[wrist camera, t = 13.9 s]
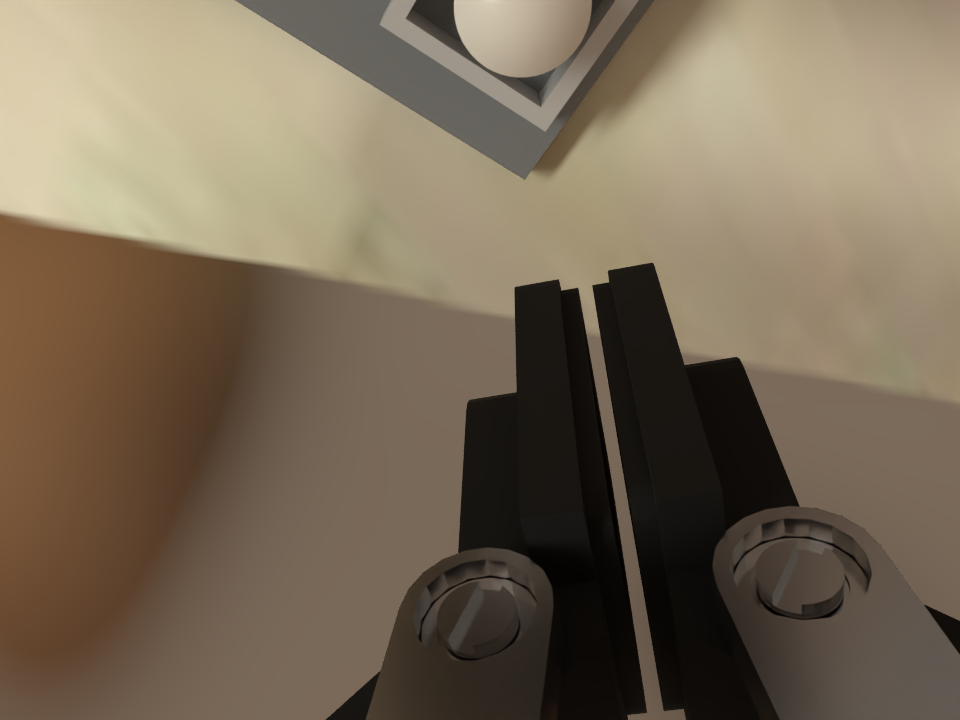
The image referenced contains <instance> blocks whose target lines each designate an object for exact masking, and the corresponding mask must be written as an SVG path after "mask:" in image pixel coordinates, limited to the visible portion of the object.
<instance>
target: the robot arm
mask: <svg viewBox="0 0 960 720" xmlns="http://www.w3.org/2000/svg"><path fill="white" fill-rule="evenodd" d="M608 276H609V283H603V284H597V285H592V286H593V293H594V299H595V305H596V311H597V317H598V323H599V329H600V335H601V341H602V347H603V353H604V358H605V365H606V371H607V378H608V384H609V390H610V396H611V401H612V408H613V414H614V420H615V426H616V432H617V438H618V444H619V450H620V456H621V462H622V468H623V474H624V480H625V486H626V492H627V498H628V503H629V510H630V515H631V521H632V526H633V533H634V539H635V545H636V550H637V557H638V562H639V568H640V574H641V580H642V586H643V592H644V598H645V604H646V609H647V615H648V621H649V627H650V632H651V639H652V645H653V651H654V656H655V662H656V668H657V674H658V680H659V686H660V692H661V698H662V703H663V709H664V711H668V710H677V709H684V712H685V716H686V720H960V621H959V620H956V619H954V618H952V617H950V616H948V615H946V614H943V613H941V612H939V611H937V610H935V609H932V608H930V607H928V606H926V605H924V604H923V603H922V602H921V600H920V599H919V597H918V596H917V595H916V593H915V592H914V591H913V589H912V588H911V586H910V585H909V584H908V582H907V581H906V579H905V578H904V576H903V575H902V574H901V572H900V571H899V570H898V568H897V567H896V565H895V564H894V563H893V561H892V560H891V558H890V557H889V556H888V554H887V553H886V552H885V550H884V549H883V548H882V546H881V545H880V544H879V543H878V542H877V541H876V540H875V539H874V538H873V537H872V536H871V535H870V534H869V533H868V532H867V531H866V530H865V529H864V528H863V527H861V526H859V525H857V524H855V523H854V522H852V521H850V520H849V519H847V518H845V517H843V516H841V515H838V514H835V513H831V512H828V511H825V510H821V509H818V508H808V507H800V506H799V504H798V501H797V499H796V496H795V494H794V492H793V489H792V487H791V485H790V481H789V479H788V476H787V474H786V471H785V469H784V467H783V464H782V462H781V459H780V457H779V454H778V451H777V449H776V447H775V444H774V442H773V439H772V436H771V434H770V431H769V429H768V426H767V424H766V421H765V419H764V417H763V414H762V412H761V409H760V406H759V404H758V402H757V399H756V397H755V394H754V392H753V389H752V386H751V384H750V381H749V379H748V377H747V374H746V371H745V369H744V367H743V365H742V363H741V361H740V359H739V358H737V357H733V358H727V359H721V360H715V361H709V362H702V363H696V364H690V365H684V362H683V359H682V356H681V352H680V349H679V346H678V342H677V339H676V336H675V332H674V329H673V326H672V323H671V319H670V316H669V313H668V309H667V306H666V303H665V299H664V296H663V293H662V289H661V286H660V283H659V280H658V276H657V273H656V270H655V266H654V264H653V263H648V264H642V265H637V266H631V267H625V268H620V269H614V270H609V271H608ZM515 327H516V328H515V329H516V330H515V332H516V377H517V392H516V393H510V394H503V395H497V396H491V397H485V398H478V399H472V400H469V401H468V403H467V410H466V425H465V443H464V461H463V480H462V496H461V514H460V532H459V549H458V554H455V555H452V556H450V557H447V558H444V559H442V560H441V561H439V562H438V563H437V564H435V565H434V566H432V567H430V568H429V569H427V570H426V571H424V572H423V573H422V574H421V575H420V577H419V578H418V579H417V580H416V581H415V582H414V583H413V584H412V585H411V587H410V588H409V589H408V591H407V593H406V595H405V597H404V599H403V601H402V603H401V605H400V607H399V610H398V614H397V617H396V621H395V624H394V627H393V631H392V634H391V637H390V640H389V644H388V647H387V650H386V654H385V657H384V661H383V664H382V667H381V670H380V672H378V674H376V675H375V676H374V677H373V678H372V679H371V680H370V681H369V682H367V683H366V684H365V685H364V686H363V687H362V688H361V689H360V690H358V691H357V692H356V693H355V694H354V695H353V696H352V697H351V698H349V699H348V700H347V701H346V702H345V703H344V704H343V705H342V706H341V707H340V708H338V709H337V710H336V711H335V712H334V713H333V714H332V715H331V716H329V717H328V718H327V719H326V720H628V717H627V715H631V714H640V713H647V710H646V703H645V696H644V690H643V683H642V676H641V670H640V664H639V657H638V650H637V644H636V637H635V630H634V624H633V617H632V611H631V604H630V598H629V592H628V585H627V578H626V571H625V565H624V558H623V552H622V545H621V539H620V532H619V525H618V519H617V512H616V506H615V499H614V492H613V487H612V479H611V473H610V467H609V461H608V456H607V450H606V444H605V438H604V432H603V427H602V422H601V416H600V410H599V404H598V398H597V392H596V387H595V381H594V375H593V370H592V364H591V358H590V353H589V347H588V341H587V335H586V330H585V324H584V318H583V313H582V307H581V301H580V296H579V290H578V288H574V289H569V290H563V291H561V287H560V282H559V279H558V280H552V281H546V282H541V283H535V284H530V285H524V286H518V287H515Z"/></svg>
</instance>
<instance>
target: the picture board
mask: <svg viewBox="0 0 960 720" xmlns="http://www.w3.org/2000/svg"><path fill="white" fill-rule="evenodd" d="M236 1H237V2H239V3H240V4H242V5H244V6H245V7H247V8H248V9H250V10H252V11H253V12H255V13H257V14H258V15H260V16H261V17H263V18H265V19H266V20H268V21H269V22H271V23H273V24H274V25H276V26H277V27H279V28H281V29H282V30H284V31H286V32H287V33H289V34H290V35H292V36H294V37H295V38H297V39H298V40H300V41H302V42H303V43H305V44H307V45H308V46H310V47H311V48H313V49H315V50H316V51H318V52H319V53H321V54H323V55H324V56H326V57H328V58H329V59H331V60H332V61H334V62H336V63H337V64H339V65H340V66H342V67H344V68H345V69H347V70H348V71H350V72H352V73H353V74H355V75H357V76H358V77H360V78H361V79H363V80H365V81H366V82H368V83H369V84H371V85H373V86H374V87H376V88H378V89H379V90H381V91H382V92H384V93H386V94H387V95H389V96H390V97H392V98H394V99H395V100H397V101H398V102H400V103H402V104H403V105H405V106H407V107H408V108H410V109H411V110H413V111H415V112H416V113H418V114H419V115H421V116H423V117H424V118H426V119H428V120H429V121H431V122H432V123H434V124H436V125H437V126H439V127H440V128H442V129H444V130H445V131H447V132H449V133H450V134H452V135H453V136H455V137H457V138H458V139H460V140H461V141H463V142H465V143H466V144H468V145H469V146H471V147H473V148H474V149H476V150H478V151H479V152H481V153H482V154H484V155H486V156H487V157H489V158H490V159H492V160H494V161H495V162H497V163H499V164H500V165H502V166H503V167H505V168H507V169H508V170H510V171H511V172H513V173H515V174H516V175H518V176H520V177H521V178H523V179H524V180H525V179H526V177H527V176H528V175H529V173H530V172H531V170H532V169H533V168H534V166H535V165H536V163H537V162H538V161H539V159H540V158H541V157H542V155H543V154H544V152H545V151H546V150H547V148H548V147H549V145H550V144H551V143H552V141H553V140H554V138H555V137H556V136H557V134H558V133H559V132H560V130H561V129H562V127H563V126H564V125H565V123H566V122H567V120H568V119H569V118H570V116H571V115H572V113H573V112H574V111H575V109H576V108H577V106H578V105H579V104H580V102H581V101H582V100H583V98H584V97H585V95H586V94H587V93H588V91H589V90H590V88H591V87H592V86H593V84H594V83H595V81H596V80H597V79H598V77H599V76H600V74H601V73H602V72H603V70H604V69H605V68H606V66H607V65H608V63H609V62H610V61H611V59H612V58H613V56H614V55H615V54H616V52H617V51H618V49H619V48H620V47H621V45H622V44H623V42H624V41H625V40H626V38H627V37H628V36H629V34H630V33H631V31H632V30H633V29H634V27H635V26H636V24H637V23H638V22H639V20H640V19H641V17H642V16H643V15H644V13H645V12H646V11H647V9H648V8H649V6H650V5H651V4H652V2H653V1H654V0H592V8H591V16H590V22H589V25H588V28H587V31H586V33H585V36H584V38H583V40H582V41H581V43H580V45H579V46H578V48H577V49H576V50H575V51H574V53H573V54H572V55H571V56H570V57H569V58H568V59H567V60H566V61H565V62H563V63H562V64H561V65H559V66H558V67H556V68H554V69H553V70H551V71H548V72H546V73H544V74H540V75H537V76H532V77H509V76H505V75H501V74H499V73H496V72H494V71H492V70H490V69H488V68H486V67H485V66H483V65H482V64H481V63H479V62H478V61H477V60H476V59H475V58H474V57H473V56H472V55H471V54H470V52H469V51H468V50H467V48H466V47H465V45H464V43H463V42H462V40H461V38H460V35H459V33H458V30H457V26H456V23H455V16H454V0H236Z"/></svg>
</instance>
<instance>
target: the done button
mask: <svg viewBox="0 0 960 720" xmlns="http://www.w3.org/2000/svg"><path fill="white" fill-rule="evenodd" d="M591 8H592V0H454V16H455V23H456V26H457V30H458V33H459V35H460V38H461V40H462V42H463V43H464V45H465V47H466V48H467V50H468V51H469V52H470V54H471V55H472V56H473V57H474V58H475V59H476V60H477V61H478V62H479V63H481V64H482V65H483V66H485V67H486V68H488V69H490V70H492V71H494V72H496V73H499V74H501V75H505V76H509V77H532V76H537V75H540V74H544V73H546V72H548V71H551V70H553V69H554V68H556V67H558V66H559V65H561V64H562V63H563V62H565V61H566V60H567V59H568V58H569V57H570V56H571V55H572V54H573V53H574V51H575V50H576V49H577V48H578V46H579V45H580V43H581V41H582V40H583V38H584V36H585V33H586V31H587V28H588V25H589V22H590V16H591Z"/></svg>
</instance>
